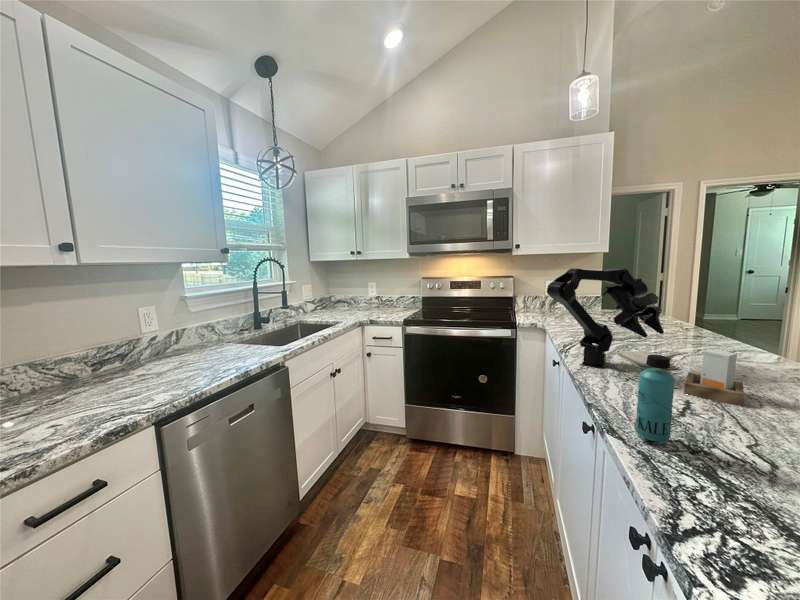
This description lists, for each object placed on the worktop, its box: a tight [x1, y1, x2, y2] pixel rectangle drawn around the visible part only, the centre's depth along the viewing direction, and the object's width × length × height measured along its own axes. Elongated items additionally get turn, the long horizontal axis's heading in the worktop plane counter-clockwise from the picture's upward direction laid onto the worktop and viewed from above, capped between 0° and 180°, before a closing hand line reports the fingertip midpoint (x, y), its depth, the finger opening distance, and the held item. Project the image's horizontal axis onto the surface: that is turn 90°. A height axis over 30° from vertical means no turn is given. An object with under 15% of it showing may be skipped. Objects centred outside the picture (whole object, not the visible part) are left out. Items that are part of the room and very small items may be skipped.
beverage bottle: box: [634, 354, 676, 443], centre depth 72 cm, size 6×7×20 cm
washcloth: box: [616, 350, 677, 371], centre depth 125 cm, size 12×18×3 cm, turn 175°
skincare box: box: [700, 348, 738, 391], centre depth 95 cm, size 6×4×12 cm
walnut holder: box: [683, 371, 745, 407], centre depth 96 cm, size 12×12×4 cm
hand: (654, 335), depth 112 cm, fingers open, 9 cm apart
